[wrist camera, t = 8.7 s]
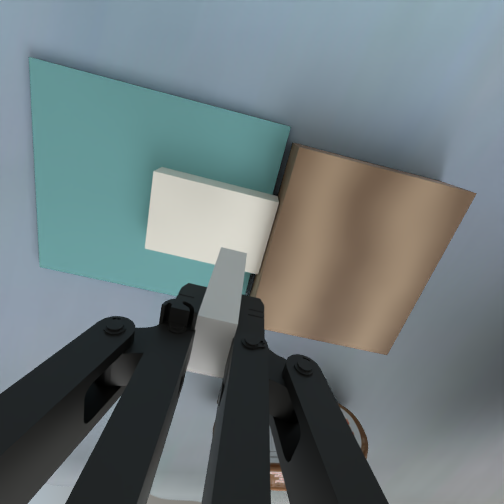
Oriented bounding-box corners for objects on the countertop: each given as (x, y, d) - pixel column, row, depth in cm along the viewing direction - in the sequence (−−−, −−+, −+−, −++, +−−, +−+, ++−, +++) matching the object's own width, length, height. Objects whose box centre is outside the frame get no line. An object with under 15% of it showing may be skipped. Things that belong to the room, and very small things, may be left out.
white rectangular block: (277, 196, 23) (279, 202, 21) (258, 263, 26) (258, 274, 24) (162, 166, 22) (153, 171, 21) (153, 239, 25) (144, 248, 23)
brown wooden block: (442, 181, 23) (476, 193, 19) (370, 324, 29) (387, 355, 25) (292, 142, 22) (299, 147, 19) (248, 298, 28) (247, 325, 24)
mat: (290, 126, 22) (290, 126, 21) (241, 306, 28) (240, 309, 28) (34, 58, 20) (28, 56, 20) (44, 264, 27) (39, 267, 26)
